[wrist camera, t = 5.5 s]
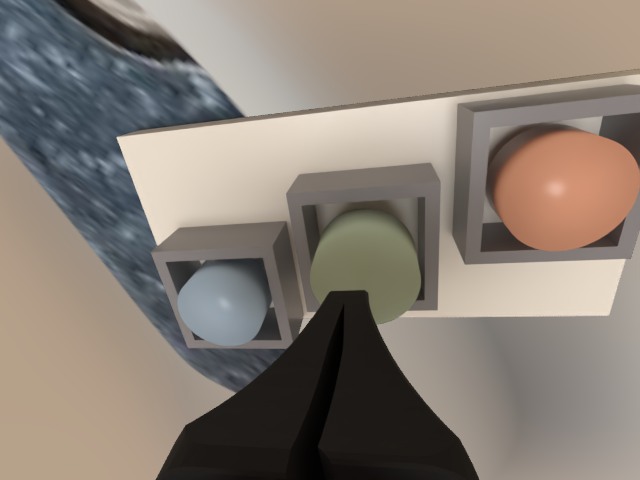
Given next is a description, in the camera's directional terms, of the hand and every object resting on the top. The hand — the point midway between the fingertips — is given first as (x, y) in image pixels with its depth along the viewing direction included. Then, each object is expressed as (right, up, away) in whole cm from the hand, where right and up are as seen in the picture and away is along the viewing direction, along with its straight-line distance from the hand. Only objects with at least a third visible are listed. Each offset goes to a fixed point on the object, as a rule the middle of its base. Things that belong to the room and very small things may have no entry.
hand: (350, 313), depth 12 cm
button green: (+1, +2, +4) cm, 4 cm away
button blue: (-6, 0, +7) cm, 9 cm away
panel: (+2, +4, +8) cm, 9 cm away
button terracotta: (+8, +5, +2) cm, 10 cm away
